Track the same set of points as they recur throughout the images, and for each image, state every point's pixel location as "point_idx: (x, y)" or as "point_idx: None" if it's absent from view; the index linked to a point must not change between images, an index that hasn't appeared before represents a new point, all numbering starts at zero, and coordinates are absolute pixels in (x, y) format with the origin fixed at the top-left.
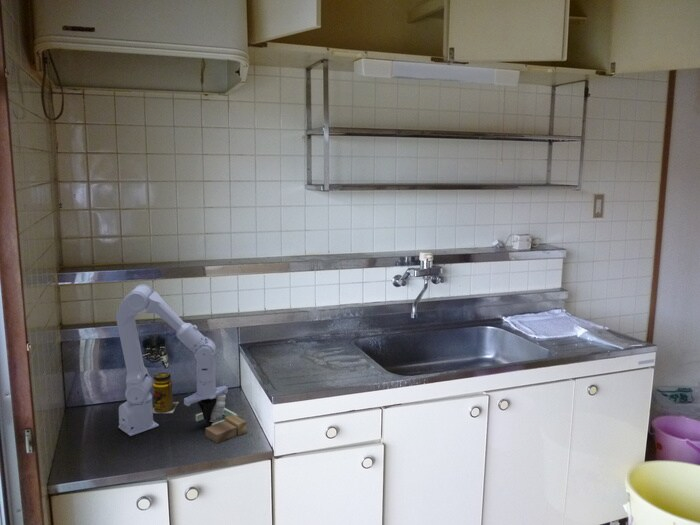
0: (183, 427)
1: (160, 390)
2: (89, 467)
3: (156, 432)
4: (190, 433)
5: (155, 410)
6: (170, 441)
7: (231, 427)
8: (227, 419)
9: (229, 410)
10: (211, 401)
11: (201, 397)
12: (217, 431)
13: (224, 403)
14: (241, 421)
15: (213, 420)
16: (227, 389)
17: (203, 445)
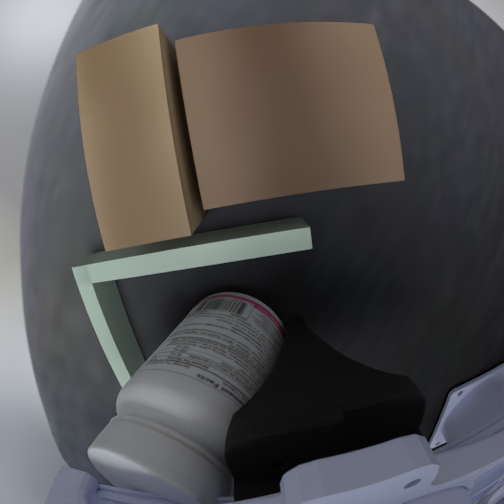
0: (400, 349)
1: None
2: None
3: (481, 348)
4: (416, 268)
5: None
6: (500, 242)
7: (213, 55)
8: (183, 184)
9: (111, 363)
10: (327, 430)
11: (498, 462)
12: (350, 63)
13: (128, 387)
14: (103, 68)
15: (261, 307)
16: (51, 495)
17: (422, 84)
